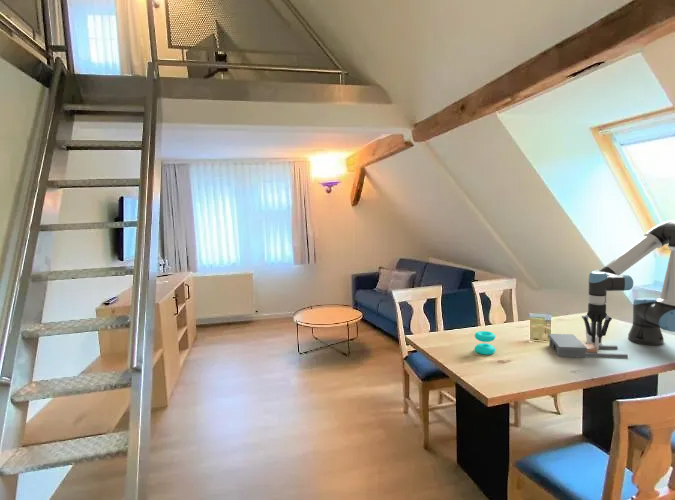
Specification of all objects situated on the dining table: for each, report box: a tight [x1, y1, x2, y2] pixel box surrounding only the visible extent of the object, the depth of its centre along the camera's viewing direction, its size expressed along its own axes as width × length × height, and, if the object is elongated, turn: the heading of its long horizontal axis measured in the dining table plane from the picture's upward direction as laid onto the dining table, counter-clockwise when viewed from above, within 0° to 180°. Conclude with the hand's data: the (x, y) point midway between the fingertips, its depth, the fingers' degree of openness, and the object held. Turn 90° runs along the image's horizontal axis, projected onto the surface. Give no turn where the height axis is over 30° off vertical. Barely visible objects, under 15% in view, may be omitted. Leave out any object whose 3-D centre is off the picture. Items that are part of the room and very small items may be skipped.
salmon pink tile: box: [581, 342, 598, 353], centre depth 208 cm, size 14×8×3 cm, turn 77°
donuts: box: [474, 330, 496, 356], centre depth 214 cm, size 10×10×10 cm
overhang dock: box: [548, 333, 629, 359], centre depth 207 cm, size 31×20×6 cm, turn 77°
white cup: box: [585, 322, 604, 345], centre depth 218 cm, size 8×8×10 cm
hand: (595, 348), depth 207 cm, fingers closed
